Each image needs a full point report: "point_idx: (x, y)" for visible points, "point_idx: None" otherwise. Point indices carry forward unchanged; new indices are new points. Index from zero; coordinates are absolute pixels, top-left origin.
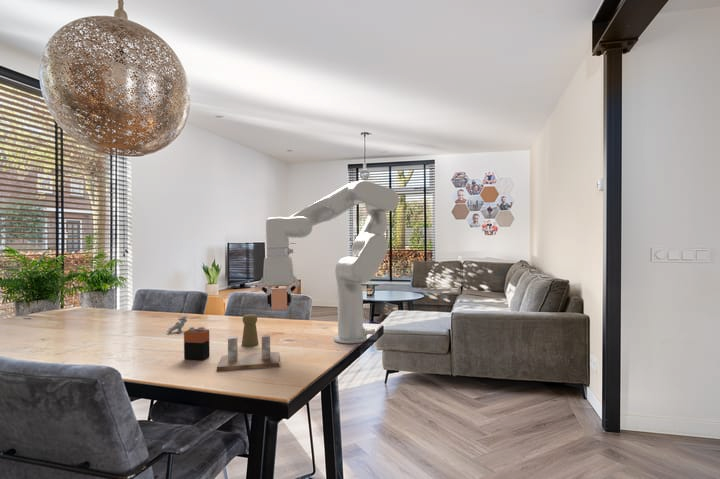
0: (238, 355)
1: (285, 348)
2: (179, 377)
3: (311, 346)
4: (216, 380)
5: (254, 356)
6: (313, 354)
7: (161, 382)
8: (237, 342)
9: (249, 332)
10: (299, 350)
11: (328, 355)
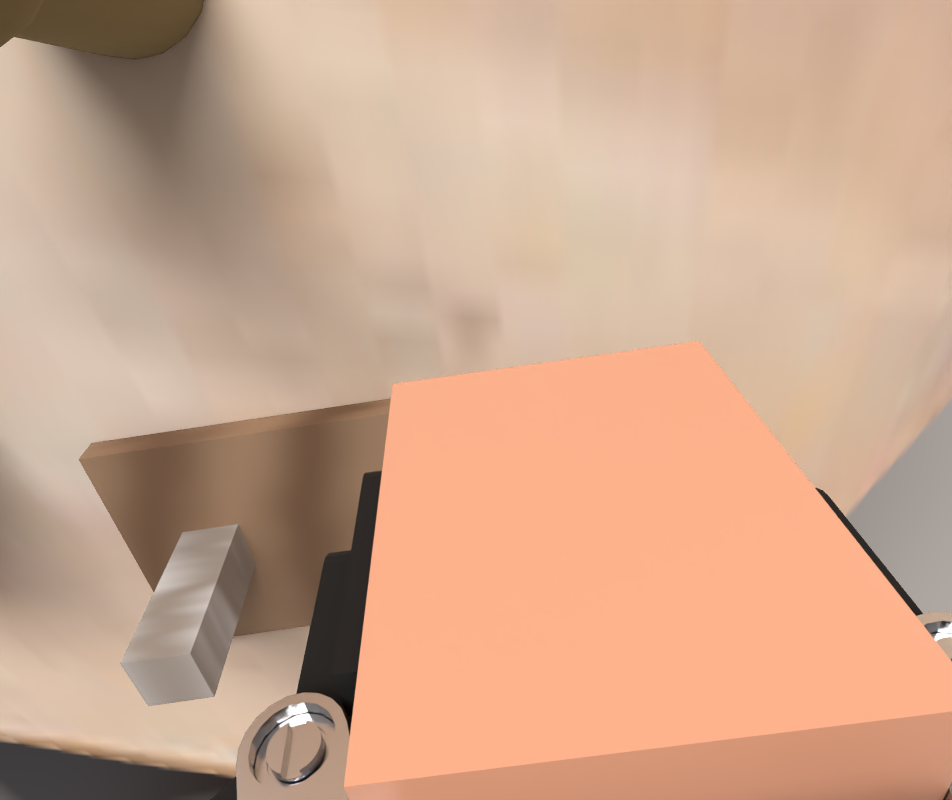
0: (211, 463)
1: (536, 172)
2: (45, 687)
3: (786, 119)
4: (255, 712)
5: (340, 487)
6: (752, 368)
7: (6, 729)
8: (205, 612)
9: (57, 40)
10: (660, 252)
11: (849, 397)
